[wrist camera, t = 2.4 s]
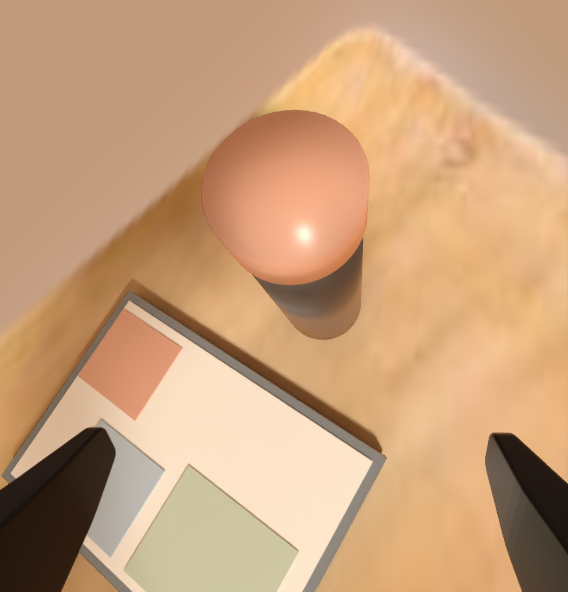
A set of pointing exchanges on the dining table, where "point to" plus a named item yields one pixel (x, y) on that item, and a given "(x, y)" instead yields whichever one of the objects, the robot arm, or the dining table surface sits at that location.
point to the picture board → (203, 464)
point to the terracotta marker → (294, 214)
